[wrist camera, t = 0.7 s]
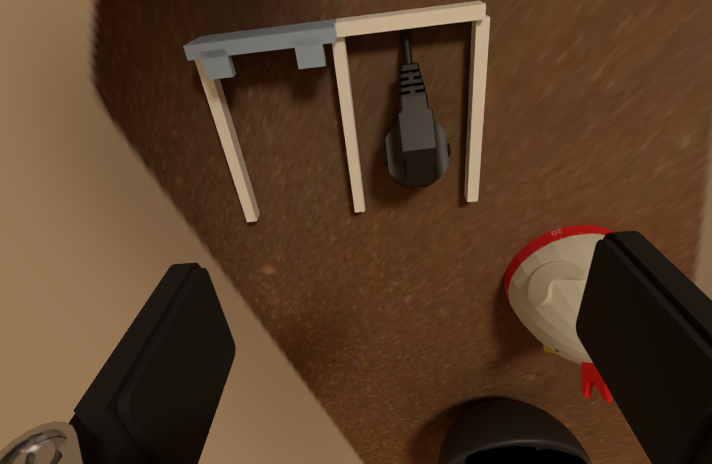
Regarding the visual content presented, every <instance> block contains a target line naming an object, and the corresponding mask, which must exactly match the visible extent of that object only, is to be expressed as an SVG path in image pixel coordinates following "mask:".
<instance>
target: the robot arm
mask: <svg viewBox="0 0 712 464" xmlns="http://www.w3.org/2000/svg"><path fill="white" fill-rule="evenodd" d="M576 333H577V336H578V338H579V340H580V342H581V343H582V345H583V347H584V349H585V350H586V352H587V354H588V355H589V357H590V359H591V360H592V362H593V364H594V366H595V367H596V369H597V371H598V372H599V374H600V376H601V378H602V379H603V381H604V383H605V384H606V386H607V388H608V390H609V391H610V393H611V395H612V396H613V398H614V400H615V401H616V403H617V405H618V407H619V408H620V410H621V412H622V413H623V415H624V417H625V419H626V420H627V422H628V424H629V425H630V427H631V429H632V430H633V432H634V434H635V436H636V437H637V439H638V441H639V442H640V444H641V446H642V448H643V449H644V451H645V453H646V454H647V456H648V458H649V459H650V461H651V463H652V464H712V300H710V299H709V298H708V297H707V296H706V295H705V294H704V293H703V292H702V291H701V290H700V289H699V288H698V287H697V286H696V285H695V284H694V283H692V282H691V281H690V280H689V279H688V278H687V277H686V276H685V275H684V274H683V273H682V272H681V271H680V270H679V269H678V268H677V267H675V266H674V265H673V264H672V263H671V262H670V261H669V260H668V259H667V258H666V257H665V256H664V255H663V254H662V253H661V252H660V251H658V250H657V249H656V248H655V247H654V246H653V245H652V244H651V243H650V242H649V241H648V240H647V239H646V238H645V237H644V236H643V235H641V234H640V233H639V232H637V231H623V232H610V233H607V234H606V235H605V236H604V238H603V239H600V240H598V241H597V243H596V245H595V249H594V253H593V257H592V261H591V265H590V269H589V273H588V277H587V281H586V285H585V289H584V293H583V297H582V300H581V304H580V308H579V312H578V316H577V320H576ZM234 357H235V343H234V340H233V337H232V334H231V332H230V329H229V326H228V324H227V321H226V318H225V316H224V313H223V310H222V308H221V305H220V302H219V300H218V297H217V294H216V292H215V289H214V286H213V283H212V281H211V278H210V275H209V273H208V271H207V270H206V268H201V267H200V265H199V264H198V263H185V264H174V265H172V266H171V267H170V268H169V269H168V271H167V272H166V274H165V275H164V277H163V278H162V280H161V281H160V283H159V284H158V286H157V287H156V289H155V290H154V291H153V293H152V294H151V296H150V297H149V299H148V301H147V302H146V303H145V305H144V306H143V308H142V309H141V311H140V312H139V314H138V315H137V317H136V318H135V320H134V321H133V323H132V324H131V326H130V327H129V329H128V331H127V332H126V333H125V335H124V336H123V338H122V339H121V341H120V342H119V344H118V345H117V347H116V348H115V350H114V351H113V353H112V354H111V356H110V357H109V358H108V360H107V361H106V363H105V364H104V366H103V367H102V369H101V370H100V372H99V373H98V375H97V376H96V378H95V379H94V381H93V383H92V384H91V385H90V387H89V388H88V390H87V391H86V393H85V394H84V396H83V397H82V399H81V400H80V402H79V403H78V405H77V406H76V408H75V409H74V412H75V415H74V416H73V418H72V419H71V421H70V422H69V424H68V423H66V422H51V423H46V424H42V425H40V426H37V427H35V428H33V429H31V430H29V431H27V432H25V433H24V434H22V435H21V436H19V437H17V438H16V439H14V440H13V441H12V442H11V443H10V444H8V445H7V446H6V447H5V448H4V449H3V450H2V451H0V464H198V462H199V459H200V456H201V453H202V450H203V447H204V444H205V441H206V439H207V436H208V433H209V430H210V427H211V424H212V421H213V418H214V415H215V413H216V410H217V407H218V404H219V401H220V398H221V395H222V392H223V389H224V386H225V383H226V381H227V378H228V375H229V372H230V369H231V366H232V363H233V360H234Z"/></svg>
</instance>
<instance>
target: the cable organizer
mask: <svg viewBox="0 0 712 464" xmlns="http://www.w3.org/2000/svg"><path fill="white" fill-rule="evenodd" d="M485 11H486V4H485V3H483V2H481V1H473V2H466V3H458V4H450V5H442V6H434V7H426V8H418V9H410V10H403V11H395V12H387V13H379V14H371V15H363V16H355V17H347V18H339V19H332V20H324V21H316V22H308V23H300V24H292V25H284V26H276V27H269V28H261V29H253V30H245V31H237V32H229V33H221V34H213V35H206V36H200V37H198V38H197V39H195V40H193V41H191V42H189V43H188V44H186V45H184V46H183V47H184V50H185V53H186V56H187V59H188V61H189V60H195V62H196V65H197V69H198V72H199V75H200V78H201V81H202V84H203V87H204V90H205V93H206V96H207V100H208V103H209V106H210V109H211V112H212V115H213V118H214V121H215V124H216V128H217V131H218V134H219V137H220V140H221V143H222V146H223V149H224V152H225V155H226V159H227V162H228V165H229V168H230V171H231V174H232V177H233V180H234V183H235V186H236V190H237V193H238V196H239V199H240V202H241V205H242V208H243V211H244V214H245V218H246V221H247V222H255V221H257V219H258V217H259V214H260V213H259V209H258V206H257V203H256V199H255V196H254V192H253V189H252V186H251V182H250V179H249V176H248V172H247V169H246V165H245V162H244V159H243V155H242V152H241V149H240V145H239V142H238V138H237V135H236V132H235V128H234V125H233V122H232V118H231V115H230V111H229V108H228V105H227V101H226V98H225V95H224V91H223V88H222V84H221V81H220V79H221V78H229V77H234V76H235V75H236V72H235V69H234V65H233V61H232V58H231V55H238V54H246V53H255V52H263V51H271V50H279V49H287V48H295V52H296V57H297V63H298V68H299V69H305V68H313V67H322V66H325V65H326V60H325V53H324V46H323V44H328V43H332V48H333V55H334V62H335V70H336V77H337V84H338V92H339V99H340V106H341V114H342V121H343V128H344V136H345V143H346V150H347V158H348V165H349V172H350V180H351V187H352V194H353V202H354V209H355V212H365V200H364V192H363V183H362V175H361V166H360V158H359V150H358V141H357V133H356V124H355V116H354V107H353V99H352V90H351V82H350V74H349V65H348V57H347V48H346V40H345V36H353V35H361V34H369V33H377V32H385V31H393V30H401V29H409V28H418V27H426V26H434V25H442V24H450V23H458V22H466V21H472V29H471V52H470V74H469V97H468V119H467V142H466V164H465V187H464V195H465V198H466V200H467V202H474V201H478V191H479V176H480V161H481V146H482V132H483V117H484V102H485V87H486V72H487V57H488V42H489V27H490V17H489V16H487V15H485Z"/></svg>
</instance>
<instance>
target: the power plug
mask: <svg viewBox="0 0 712 464" xmlns="http://www.w3.org/2000/svg"><path fill="white" fill-rule="evenodd" d="M401 39H402V48H403V57H404V64H402V65H401V66H400V82H399V111H400V113H398V115H397V116H398V123H397V124H396V125H395V126H394V127H393V128H392V129H391V130H390V132H389V133H388V135H387V137H386V151H385V152H383V160H384V166H388V168H389V176H390V177H391V179H392V180H393V181H394V182H396V183H397V184H399V185H400V186H403V187H405V188H409V189H415V188H416V186H423V188H425V187H428V186H430V185H432V184H433V183H435V182H436V181H437V180H438V179H439V178H440V177H441V175H443V173H444V172H445V171H446V169H447V168H448V166H449V159H448V157H449V156H450V155H451V150H450V144H449V143H447V141H446V133H445V130H444V129H443V128H442V127H441V126H440V125H439V124H438V123H436V122H435V121H434V118H433V110H432V109H430V108H429V107H428V98H427V93H426V92H425V86H424V85H423V83H424V82H423V79H421V77H422V75H421V72H420V68H419V65H418V63H416V62H415V63H413V61H412V52H411V43H410V35H409V31H403V32H401Z"/></svg>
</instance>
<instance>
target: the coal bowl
mask: <svg viewBox="0 0 712 464" xmlns="http://www.w3.org/2000/svg"><path fill="white" fill-rule="evenodd" d="M438 464H591V461H590V458H589V456H588V455H587V453H586V451H585V450H584V448H583V447H582V445H581V444H580V442H579V441H578V440H577V438H576V437H575V436H574V435H573V434H572V433H571V431H570V430H569V429H568V428H567V427H566V426H564V425H563V424H562V423H561V422H560V421H559V420H557V419H556V418H555V417H553V416H552V415H550V414H549V413H547V412H546V411H544V410H542V409H540V408H538V407H536V406H533V405H531V404H528V403H525V402H520V401H515V400H492V401H487V402H484V403H481V404H478V405H476V406H474V407H472V408H470V409H469V410H467V411H466V412H464V413H463V414H462V415H461V416H460V417H459V418H458V419H457V420H456V421H455V422H454V423H453V425H452V426H451V427H450V429H449V431H448V432H447V434H446V436H445V439H444V441H443V444H442V447H441V450H440V455H439V461H438Z"/></svg>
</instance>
